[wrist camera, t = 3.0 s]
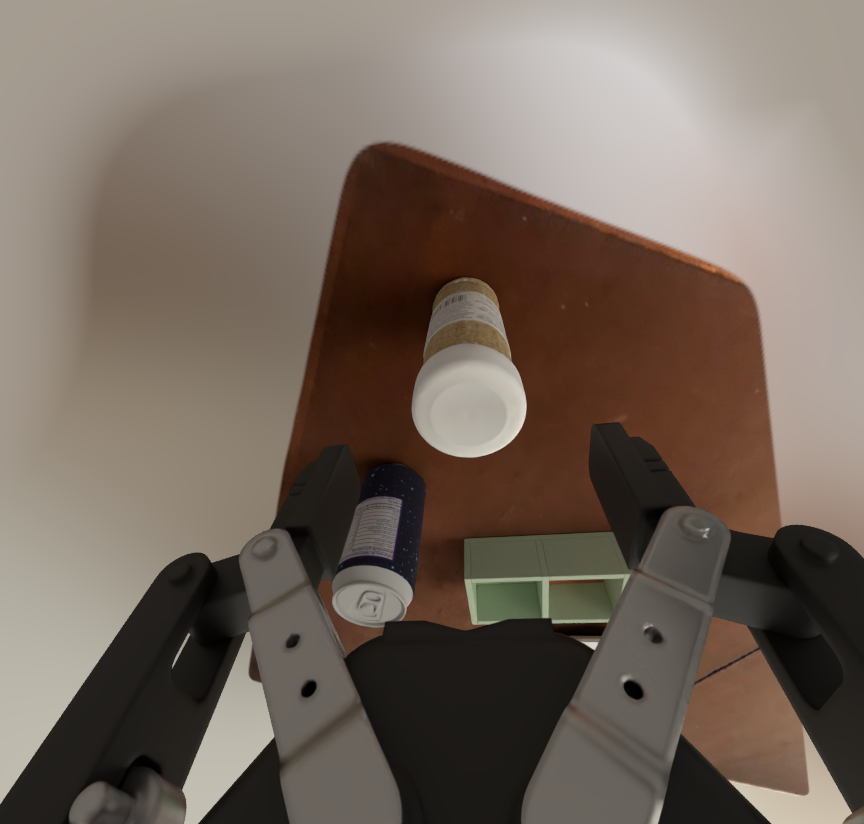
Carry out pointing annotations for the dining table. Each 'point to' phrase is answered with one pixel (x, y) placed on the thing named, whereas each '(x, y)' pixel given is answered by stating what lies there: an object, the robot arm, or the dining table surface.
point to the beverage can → (381, 548)
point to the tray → (544, 577)
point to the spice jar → (467, 375)
